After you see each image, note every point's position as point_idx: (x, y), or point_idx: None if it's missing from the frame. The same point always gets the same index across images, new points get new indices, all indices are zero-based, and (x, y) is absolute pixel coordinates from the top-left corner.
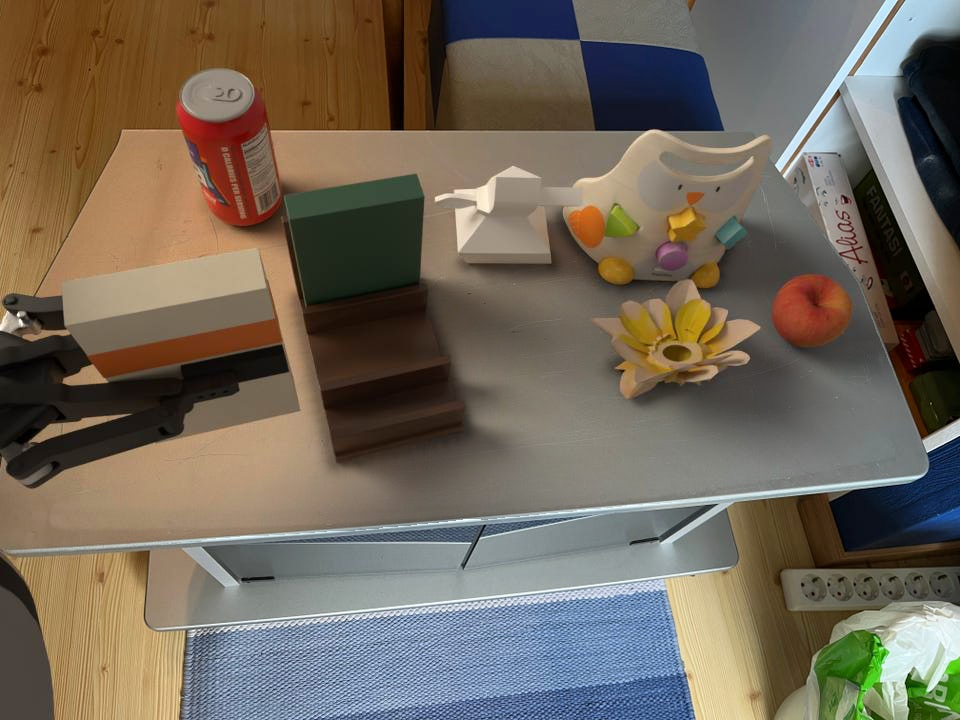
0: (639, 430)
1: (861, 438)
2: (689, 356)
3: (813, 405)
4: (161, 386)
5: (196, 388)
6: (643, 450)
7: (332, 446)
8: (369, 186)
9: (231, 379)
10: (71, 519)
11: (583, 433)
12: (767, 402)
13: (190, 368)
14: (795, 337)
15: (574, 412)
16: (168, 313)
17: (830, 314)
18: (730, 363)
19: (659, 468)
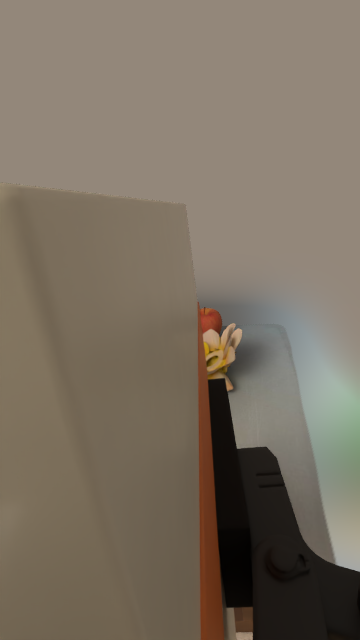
0: (253, 392)
1: (267, 333)
2: (211, 364)
3: (248, 341)
4: (285, 601)
5: (281, 519)
6: (267, 392)
7: (246, 613)
8: None
9: (260, 452)
10: None
11: (251, 415)
12: (243, 351)
13: (231, 504)
14: (216, 329)
15: (234, 417)
16: (180, 242)
17: (212, 311)
18: (229, 335)
19: (280, 388)
